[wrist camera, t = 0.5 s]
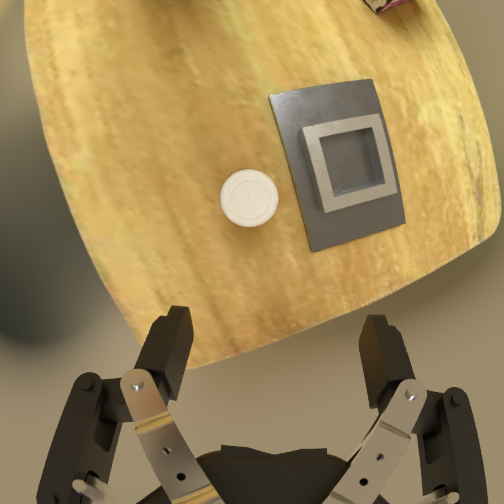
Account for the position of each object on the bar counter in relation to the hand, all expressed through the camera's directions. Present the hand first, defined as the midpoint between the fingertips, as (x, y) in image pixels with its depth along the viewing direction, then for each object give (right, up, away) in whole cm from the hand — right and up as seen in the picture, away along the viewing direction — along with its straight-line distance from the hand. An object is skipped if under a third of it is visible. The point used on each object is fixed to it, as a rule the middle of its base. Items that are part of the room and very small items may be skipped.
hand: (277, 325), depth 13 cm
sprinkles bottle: (-2, +11, +23) cm, 25 cm away
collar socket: (+10, +15, +22) cm, 29 cm away
